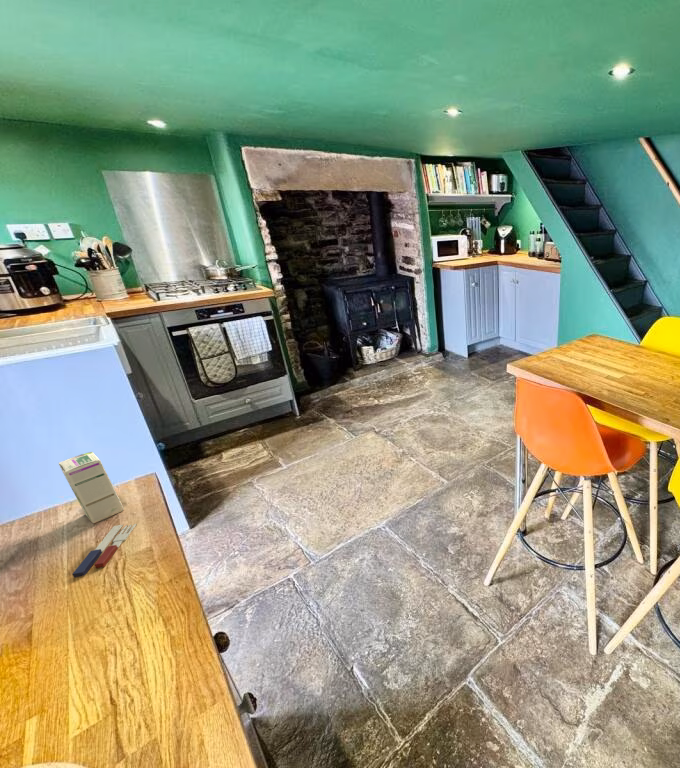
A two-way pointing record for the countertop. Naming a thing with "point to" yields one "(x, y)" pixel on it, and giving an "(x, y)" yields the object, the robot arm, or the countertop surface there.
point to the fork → (114, 546)
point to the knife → (96, 553)
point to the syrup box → (91, 486)
